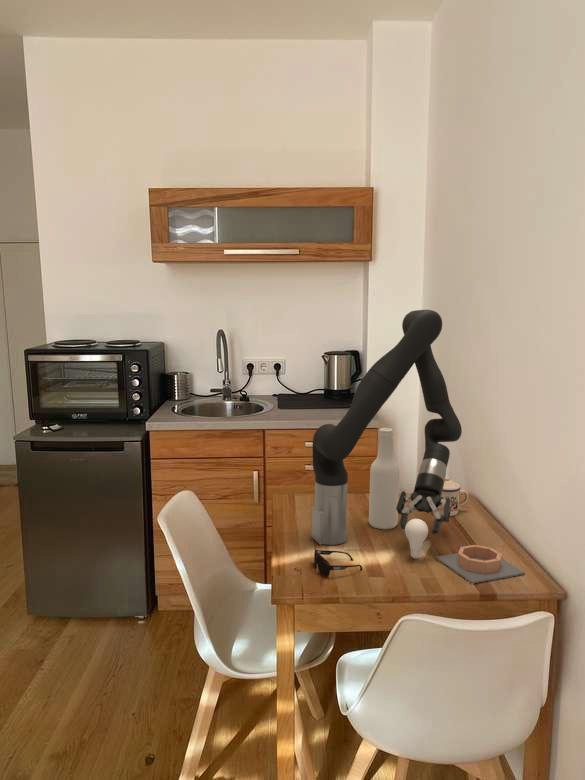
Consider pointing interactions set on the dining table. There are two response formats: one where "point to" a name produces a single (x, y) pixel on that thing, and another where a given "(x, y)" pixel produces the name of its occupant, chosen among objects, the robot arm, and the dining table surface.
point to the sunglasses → (324, 564)
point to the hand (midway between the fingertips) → (418, 530)
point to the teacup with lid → (451, 496)
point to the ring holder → (479, 564)
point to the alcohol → (384, 485)
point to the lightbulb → (416, 536)
